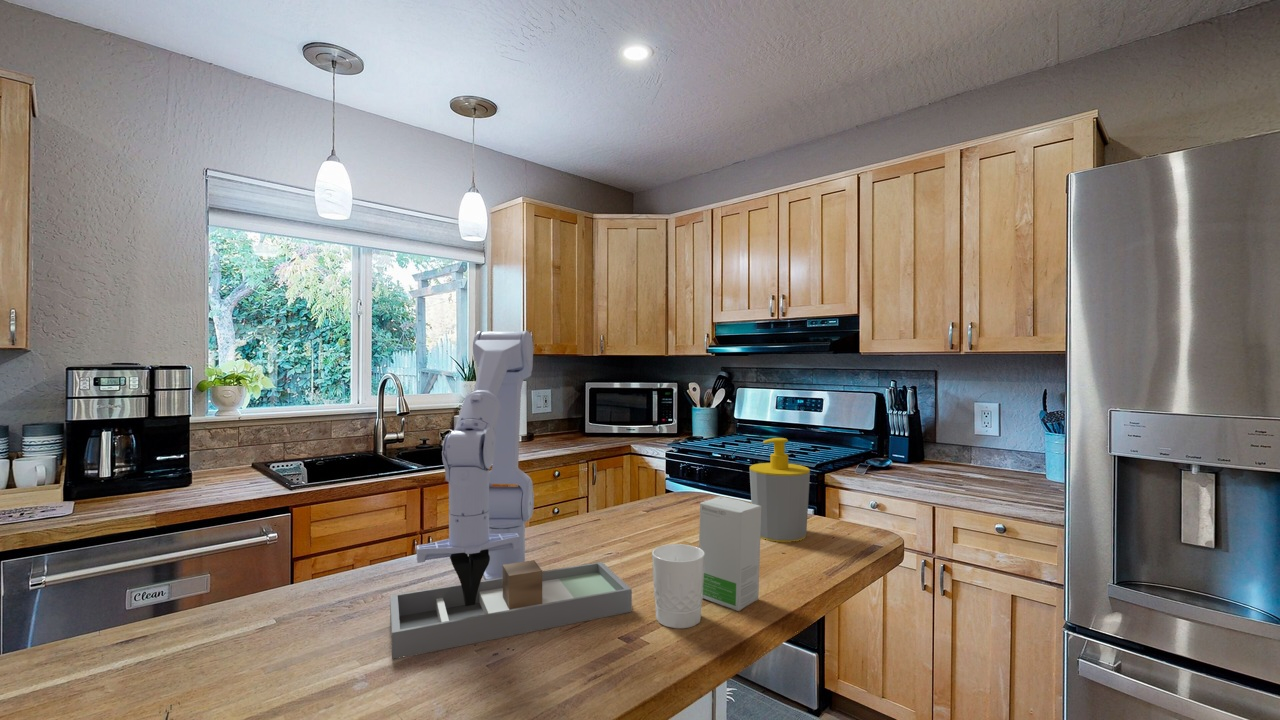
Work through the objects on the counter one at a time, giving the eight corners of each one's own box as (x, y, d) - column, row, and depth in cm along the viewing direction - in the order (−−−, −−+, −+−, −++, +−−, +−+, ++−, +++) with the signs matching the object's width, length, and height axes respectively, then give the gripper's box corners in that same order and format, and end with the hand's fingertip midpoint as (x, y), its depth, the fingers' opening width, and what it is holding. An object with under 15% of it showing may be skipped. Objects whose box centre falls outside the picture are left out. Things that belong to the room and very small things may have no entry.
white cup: (702, 633, 82) (702, 563, 82) (647, 628, 84) (647, 559, 84) (706, 609, 90) (706, 545, 90) (657, 605, 91) (657, 542, 91)
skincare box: (696, 597, 94) (696, 502, 94) (719, 585, 99) (719, 495, 99) (740, 612, 89) (740, 511, 89) (762, 599, 94) (762, 503, 94)
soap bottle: (742, 526, 134) (742, 435, 134) (796, 524, 135) (796, 434, 135) (760, 544, 121) (760, 443, 121) (819, 542, 122) (819, 442, 122)
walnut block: (502, 596, 90) (502, 564, 90) (534, 591, 92) (534, 560, 92) (509, 609, 85) (509, 575, 85) (542, 603, 87) (542, 570, 87)
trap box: (390, 618, 87) (390, 595, 87) (602, 581, 101) (602, 561, 101) (392, 659, 75) (392, 632, 75) (631, 611, 89) (631, 589, 89)
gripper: (418, 524, 79) (418, 623, 79) (524, 512, 85) (524, 604, 85) (415, 511, 85) (416, 603, 85) (514, 501, 91) (514, 587, 91)
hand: (469, 602), depth 85 cm, fingers closed
